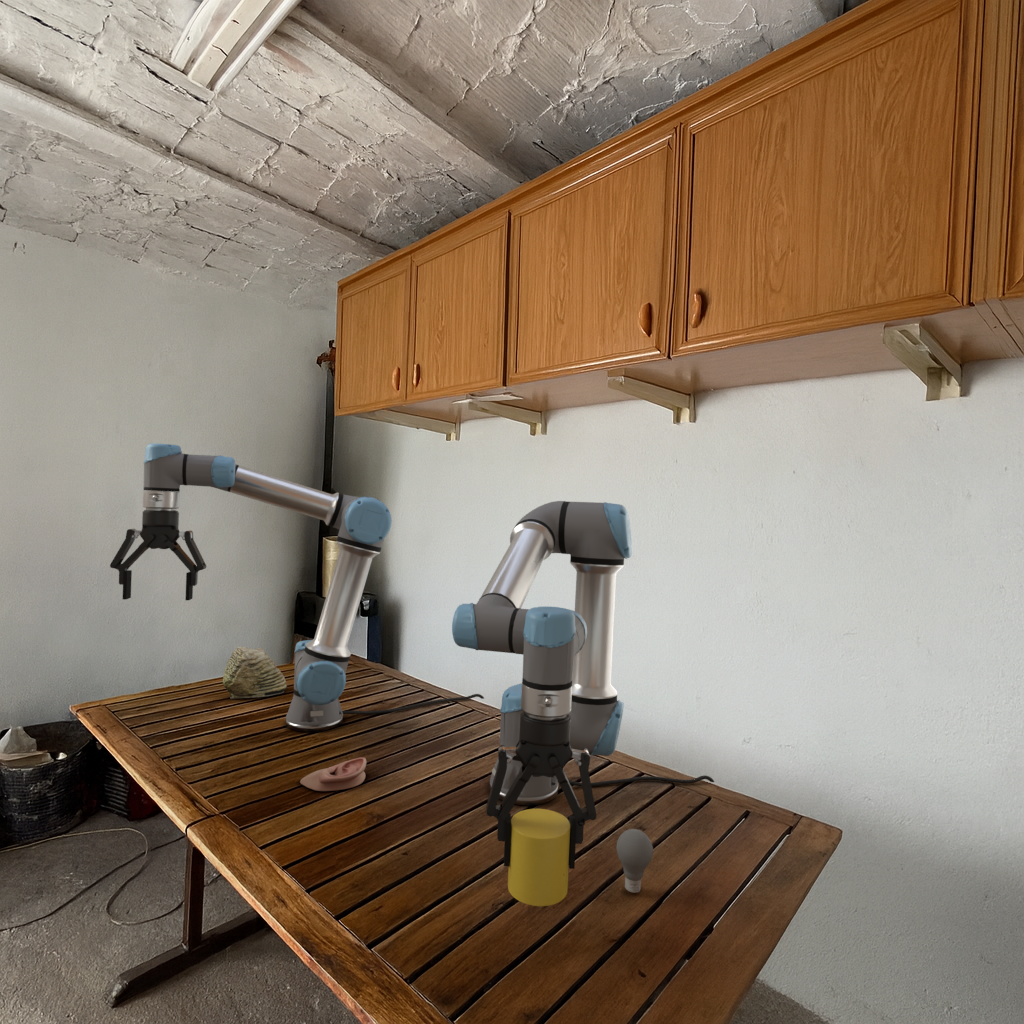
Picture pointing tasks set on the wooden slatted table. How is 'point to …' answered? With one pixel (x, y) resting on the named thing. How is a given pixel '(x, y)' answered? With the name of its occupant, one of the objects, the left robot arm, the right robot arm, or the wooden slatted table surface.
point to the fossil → (252, 674)
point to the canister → (539, 857)
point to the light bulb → (634, 857)
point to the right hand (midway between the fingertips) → (538, 862)
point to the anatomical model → (337, 776)
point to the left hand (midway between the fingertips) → (158, 599)
